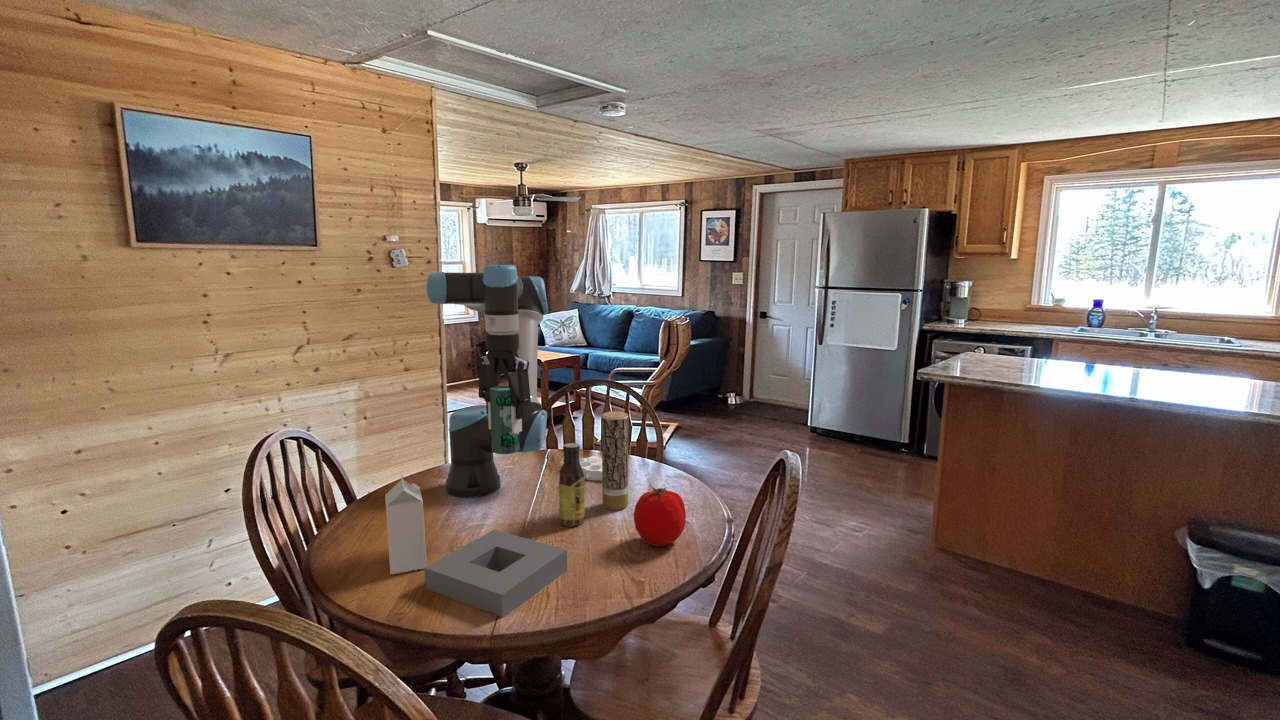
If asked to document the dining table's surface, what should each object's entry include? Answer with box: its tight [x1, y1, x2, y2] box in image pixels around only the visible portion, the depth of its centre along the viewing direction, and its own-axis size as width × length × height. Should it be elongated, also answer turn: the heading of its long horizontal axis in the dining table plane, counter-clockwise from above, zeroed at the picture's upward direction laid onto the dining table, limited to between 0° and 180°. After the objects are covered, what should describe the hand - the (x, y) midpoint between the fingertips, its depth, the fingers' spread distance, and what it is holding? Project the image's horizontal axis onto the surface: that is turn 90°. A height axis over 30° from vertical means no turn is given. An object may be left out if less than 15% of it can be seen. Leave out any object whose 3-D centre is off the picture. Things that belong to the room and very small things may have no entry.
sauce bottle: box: [558, 442, 585, 527], centre depth 151 cm, size 6×6×20 cm
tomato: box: [633, 485, 687, 547], centre depth 141 cm, size 12×12×13 cm
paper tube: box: [601, 410, 629, 511], centre depth 161 cm, size 7×7×25 cm
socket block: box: [423, 529, 568, 618], centre depth 125 cm, size 20×20×4 cm
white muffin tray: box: [579, 455, 602, 482], centre depth 188 cm, size 3×18×15 cm
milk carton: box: [384, 474, 427, 575], centre depth 130 cm, size 7×7×19 cm
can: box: [490, 385, 520, 455], centre depth 144 cm, size 6×6×15 cm
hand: (505, 429), depth 144 cm, fingers closed on can, 6 cm apart
